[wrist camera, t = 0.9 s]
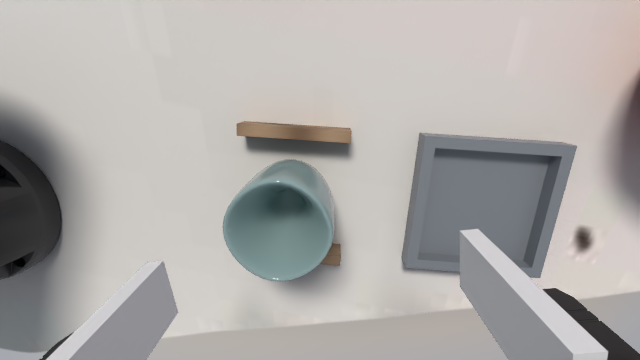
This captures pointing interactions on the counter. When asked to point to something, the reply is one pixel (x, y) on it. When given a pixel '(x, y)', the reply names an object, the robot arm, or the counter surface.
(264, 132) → the dock rails
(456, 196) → the dock cradle
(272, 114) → the counter surface
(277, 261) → the cup
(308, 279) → the counter surface
